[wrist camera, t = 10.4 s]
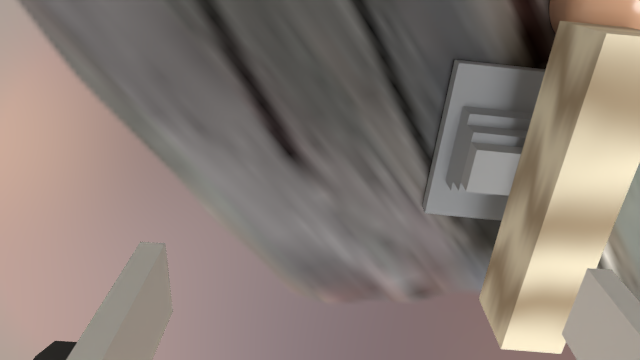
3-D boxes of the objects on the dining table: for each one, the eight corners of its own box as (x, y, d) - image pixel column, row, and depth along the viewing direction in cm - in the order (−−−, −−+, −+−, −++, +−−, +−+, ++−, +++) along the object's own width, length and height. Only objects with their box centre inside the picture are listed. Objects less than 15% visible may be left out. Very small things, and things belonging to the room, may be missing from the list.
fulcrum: (454, 59, 34) (478, 78, 28) (618, 77, 34) (672, 99, 29) (422, 206, 39) (437, 246, 33) (564, 220, 39) (602, 262, 34)
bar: (559, 20, 27) (606, 33, 22) (628, 27, 27) (689, 41, 22) (478, 298, 35) (500, 349, 31) (531, 303, 35) (561, 353, 31)
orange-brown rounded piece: (567, -65, 30) (619, -70, 25) (674, -53, 31) (748, -56, 25) (536, 46, 33) (576, 63, 28) (633, 56, 34) (691, 75, 28)
